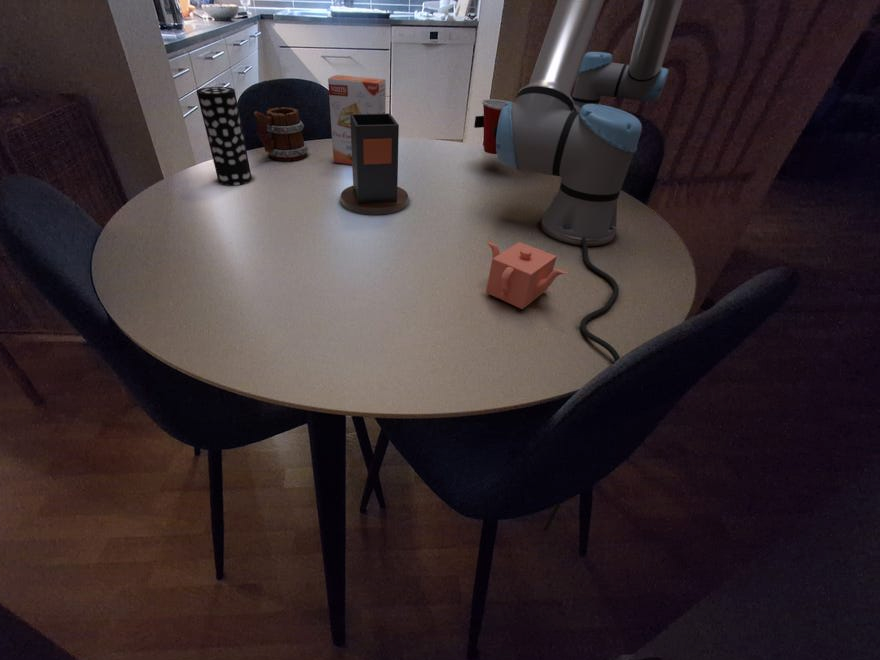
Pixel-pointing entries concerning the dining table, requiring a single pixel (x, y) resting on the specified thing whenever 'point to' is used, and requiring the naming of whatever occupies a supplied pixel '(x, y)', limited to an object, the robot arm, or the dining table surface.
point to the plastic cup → (491, 122)
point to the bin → (374, 157)
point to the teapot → (520, 273)
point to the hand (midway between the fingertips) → (484, 126)
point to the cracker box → (352, 108)
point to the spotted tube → (225, 134)
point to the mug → (282, 134)
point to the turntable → (375, 208)
